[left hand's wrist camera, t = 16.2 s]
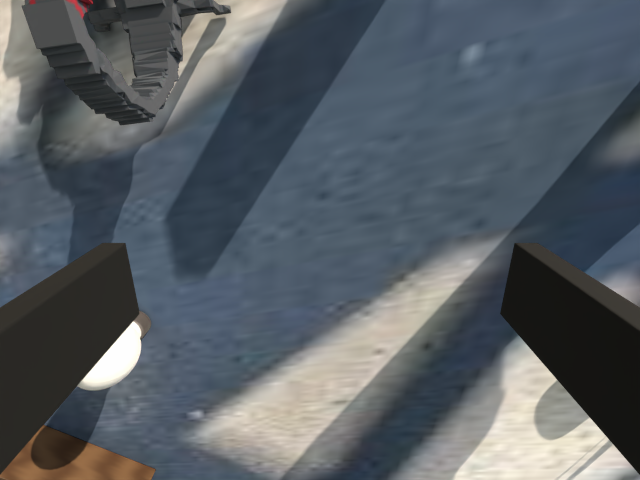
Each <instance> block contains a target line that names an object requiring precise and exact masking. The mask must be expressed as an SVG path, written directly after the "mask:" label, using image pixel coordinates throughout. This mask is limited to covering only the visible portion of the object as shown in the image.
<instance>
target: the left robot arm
mask: <svg viewBox="0 0 640 480" xmlns="http://www.w3.org/2000/svg"><path fill="white" fill-rule="evenodd" d="M139 314H140V313H139V308H138V303H137V298H136V293H135V288H134V283H133V278H132V274H131V269H130V264H129V259H128V254H127V249H126V244H125V243H102V244H100V245H99V246H97V247H96V248H94V249H92V250H91V251H89V252H88V253H86V254H85V255H83V256H81V257H80V258H78V259H77V260H75V261H73V262H72V263H70V264H69V265H67V266H65V267H64V268H62V269H61V270H59V271H58V272H56V273H54V274H53V275H51V276H50V277H48V278H46V279H45V280H43V281H42V282H40V283H39V284H37V285H35V286H34V287H32V288H31V289H29V290H27V291H26V292H24V293H23V294H21V295H20V296H18V297H16V298H15V299H13V300H12V301H10V302H8V303H7V304H5V305H4V306H2V307H1V308H0V474H1V473H2V472H3V471H4V470H5V469H6V467H7V466H8V465H9V464H10V463H11V462H12V461H13V459H14V458H15V457H16V456H17V455H18V454H19V452H20V451H21V450H22V449H23V448H24V447H25V446H26V444H27V443H28V442H29V441H30V440H31V439H32V437H33V436H34V435H35V434H36V433H37V432H38V431H39V429H40V428H41V427H42V426H43V425H44V424H45V422H46V421H47V420H48V419H49V418H50V417H51V416H52V414H53V413H54V412H55V411H56V410H57V409H58V407H59V406H60V405H61V404H62V403H63V402H64V401H65V399H66V398H67V397H68V396H69V395H70V394H71V392H72V391H73V390H74V389H75V388H76V387H77V386H78V384H79V383H80V382H81V381H82V380H83V379H84V378H85V376H86V375H87V374H88V373H89V372H90V371H91V369H92V368H93V367H94V366H95V365H96V364H97V363H98V361H99V360H100V359H101V358H102V357H103V356H104V354H105V353H106V352H107V351H108V350H109V349H110V348H111V346H112V345H113V344H114V343H115V342H116V341H117V339H118V338H119V337H120V336H121V335H122V334H123V333H124V331H125V330H126V329H127V328H128V327H129V326H130V324H131V323H132V322H133V321H134V320H135V319H136V318H137V316H138V315H139ZM500 314H501V315H502V316H503V318H504V319H505V320H506V321H507V322H508V323H509V324H510V326H511V327H512V328H513V329H514V330H515V331H516V333H517V334H518V335H519V336H520V337H521V338H522V339H523V341H524V342H525V343H526V344H527V345H528V346H529V348H530V349H531V350H532V351H533V352H534V353H535V354H536V356H537V357H538V358H539V359H540V360H541V361H542V363H543V364H544V365H545V366H546V367H547V368H548V369H549V371H550V372H551V373H552V374H553V375H554V376H555V378H556V379H557V380H558V381H559V382H560V383H561V384H562V386H563V387H564V388H565V389H566V390H567V391H568V392H569V394H570V395H571V396H572V397H573V398H574V399H575V401H576V402H577V403H578V404H579V405H580V406H581V407H582V409H583V410H584V411H585V412H586V413H587V414H588V416H589V417H590V418H591V419H592V420H593V421H594V422H595V424H596V425H597V426H598V427H599V428H600V429H601V431H602V432H603V433H604V434H605V435H606V436H607V437H608V439H609V440H610V441H611V442H612V443H613V444H614V446H615V447H616V448H617V449H618V450H619V451H620V452H621V454H622V455H623V456H624V457H625V458H626V459H627V461H628V462H629V463H630V464H631V465H632V466H633V467H634V469H635V470H636V471H637V472H638V473H639V474H640V308H639V307H638V306H636V305H635V304H633V303H632V302H630V301H628V300H627V299H625V298H624V297H622V296H620V295H619V294H617V293H616V292H614V291H613V290H611V289H609V288H608V287H606V286H605V285H603V284H601V283H600V282H598V281H597V280H595V279H594V278H592V277H590V276H589V275H587V274H586V273H584V272H582V271H581V270H579V269H578V268H576V267H575V266H573V265H571V264H570V263H568V262H567V261H565V260H563V259H562V258H560V257H559V256H557V255H555V254H554V253H552V252H551V251H549V250H548V249H546V248H544V247H543V246H541V245H540V244H538V243H515V244H514V249H513V254H512V259H511V264H510V269H509V274H508V278H507V283H506V288H505V293H504V298H503V303H502V308H501V313H500Z"/></svg>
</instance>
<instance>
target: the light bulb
mask: <svg viewBox="0 0 640 480" xmlns="http://www.w3.org/2000/svg"><path fill="white" fill-rule="evenodd" d="M139 313H140V314H139V315H138V316H137V318H136V319H135V320H134V321H133V322H132V323H131V324H130V326H129V327H128V328H127V329H126V330H125V331H124V333H123V334H122V335H121V336H120V337H119V338H118V339H117V341H116V342H115V343H114V344H113V345H112V346H111V348H110V349H109V350H108V351H107V352H106V353H105V354H104V356H103V357H102V358H101V359H100V360H99V361H98V363H97V364H96V365H95V366H94V367H93V368H92V369H91V371H90V372H89V373H88V374H87V375H86V376H85V378H84V379H83V380H82V381H81V382H80V383H79V384H78V387H80V388H82V389H85V390H102V389H105V388H109V387H111V386H113V385H115V384H117V383H119V382H120V381H121V380H122V379H124V378H125V377H126V376H127V375H128V374H129V373H130V372H131V370H132V369H133V368H134V366H135V365H136V363H137V361H138V358H139V355H140V351H141V339H142V338H143V337H144V335H145V334H146V333H147V331H148V330H149V329H150V327H151V321H150V319H149V317H148V316H147V315H146V314H144V313H143V312H141V311H139Z"/></svg>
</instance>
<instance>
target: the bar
mask: <svg viewBox="0 0 640 480" xmlns="http://www.w3.org/2000/svg"><path fill="white" fill-rule="evenodd" d="M155 470H156V469H154V468H151V467H148V466H146V465H143V464H141V463H138V462H136V461H133V460H131V459H128V458H126V457H123V456H121V455H118V454H116V453H113V452H111V451H108V450H105V449H103V448H100V447H98V446H95V445H93V444H90V443H88V442H85V441H83V440H80V439H78V438H75V437H73V436H70V435H68V434H65V433H62V432H60V431H57V430H55V429H52V428H50V427H47V426H45V425H43V426H42V427H41V428H40V429H39V431H38V432H37V433H36V434H35V435H34V436H33V437H32V439H31V440H30V441H29V442H28V443H27V444H26V446H25V447H24V448H23V449H22V450H21V451H20V452H19V454H18V455H17V456H16V457H15V458H14V459H13V461H12V462H11V463H10V464H9V465H8V466H7V467H6V469H5V470H4V471H3V472H2V473H1V474H0V480H151V479H152V477H153V475H154V472H155Z"/></svg>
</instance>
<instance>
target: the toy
mask: <svg viewBox="0 0 640 480" xmlns="http://www.w3.org/2000/svg"><path fill="white" fill-rule="evenodd" d="M114 1H115V5H116V7H114V8H108V9H102V10H97V11H92V12H89V8H90V7H89V4H93V2H92V0H25V5H24V6H22V8H23V11H24V14H25V17H26V20H27V22H28V25H29V28H30V31H31V34H32V36H33V39H34V42H35V45H36V48H37V49H41V52H42V54H43V55H45V56H47V59H48V62H49V64H50V67H54V69H55V72H56V75H57V78H59V79H64V81H65V85H66V86H67V87H68V88H70V89H71V90H72V91H73V92H74V93H75V95H79V98H80V100H83V101H84V102H85V103H86V104H87V105H88V106H89V107H90V108H91V109H94V110H95V113H96V114H105V115H106V117H107V118H109V119H112V120H114V121H119V124H120V125H127V124H135V123H142V122H150V121H153V118H152V117H155V114H156V113H157V111H158V109H163V107H164V105H165V102H166V98H168V95H169V94H170V91H171V89H172V88H173V86H174V82H175V81H178V78H179V76H178V72H177V71H178V68H179V65H178V64H179V63H180V61H183V51H182V40H181V33H182V24H181V18H180V17H183V16H188V15H193V14H198V13H210V12H213V13H215V14H216V15H220V14H227V13H231V9H230V6H226V5H218V4H217V3H216V2H215V1H214V0H114ZM85 12H88V16H89V20H90V22H91V24H93V25H94V28H95V30H96V31H98V32H103V31H110V28H109V23H110V22H117V21H122V24H123V28H124V30H125V31H126V32H127V33H129V39H130V47H131V53H132V59H133V67H134V74H135V76H136V77H137V78H136V79H132V80H133V82H132V86H128V85H127V83H126V82H125V80H124V78H123V76H122V74H121V72H118V71H115V70H114V69H113V67H112V65H111V63H110V61H109V60H108V58H107V57H106V55H105V54H104V53H103V52H102V51H100V50H99V48H96V45H95V42H94V41H93V40H92V39H91V38H90V36H89V34H88V31H87V28H86V26H85V23H84V20H83V16H84V14H85Z"/></svg>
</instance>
